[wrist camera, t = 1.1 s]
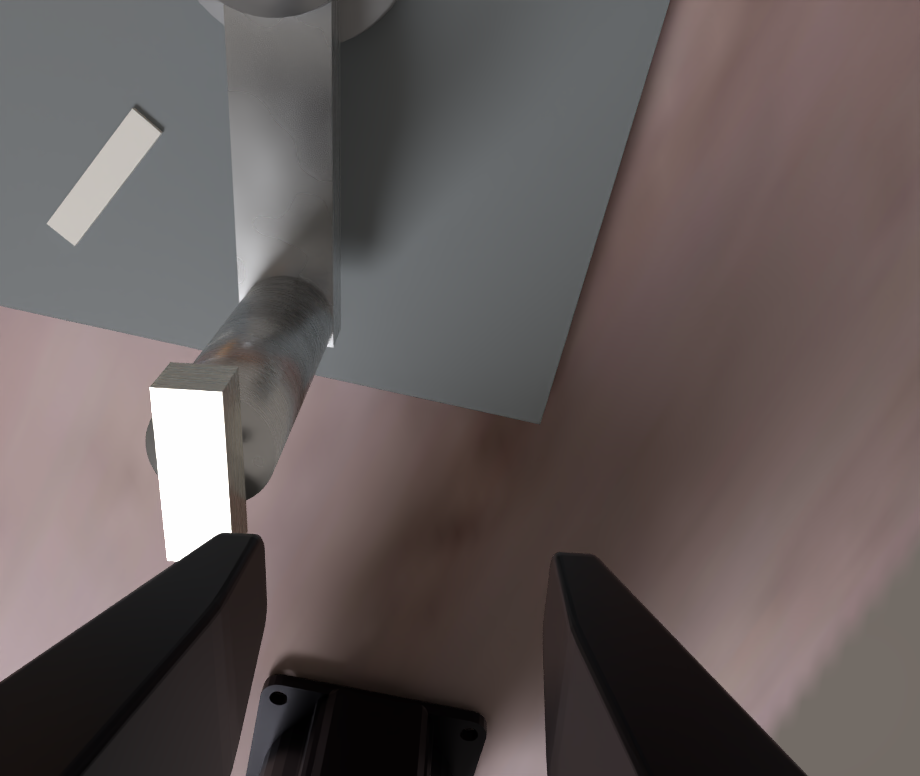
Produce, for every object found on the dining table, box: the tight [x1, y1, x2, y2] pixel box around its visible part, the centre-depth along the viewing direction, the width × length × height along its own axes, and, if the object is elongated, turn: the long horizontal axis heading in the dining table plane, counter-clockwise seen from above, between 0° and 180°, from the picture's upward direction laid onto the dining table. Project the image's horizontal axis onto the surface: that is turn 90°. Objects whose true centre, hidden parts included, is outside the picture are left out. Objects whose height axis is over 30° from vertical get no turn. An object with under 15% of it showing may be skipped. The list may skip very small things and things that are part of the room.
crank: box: [146, 0, 341, 561], centre depth 13 cm, size 10×3×7 cm, turn 177°
